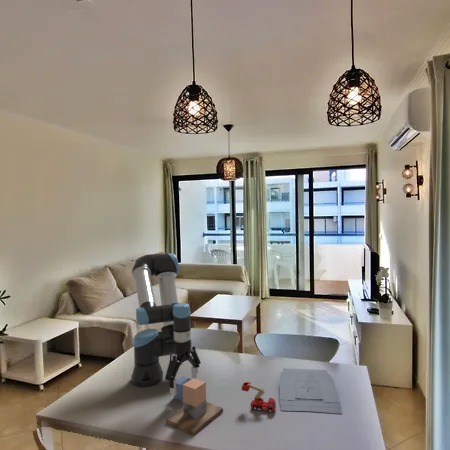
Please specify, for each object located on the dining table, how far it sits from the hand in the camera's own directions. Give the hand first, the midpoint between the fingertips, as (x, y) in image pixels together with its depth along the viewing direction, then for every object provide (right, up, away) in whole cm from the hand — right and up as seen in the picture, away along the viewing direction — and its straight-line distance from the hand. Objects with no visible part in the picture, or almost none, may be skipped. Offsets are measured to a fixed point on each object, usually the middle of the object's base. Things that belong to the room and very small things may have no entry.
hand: (184, 388), depth 153 cm
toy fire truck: (+32, -4, -10) cm, 33 cm away
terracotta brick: (+6, +2, -15) cm, 16 cm away
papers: (+54, -3, +1) cm, 54 cm away
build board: (+6, -5, -15) cm, 17 cm away
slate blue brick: (0, -4, +1) cm, 4 cm away
